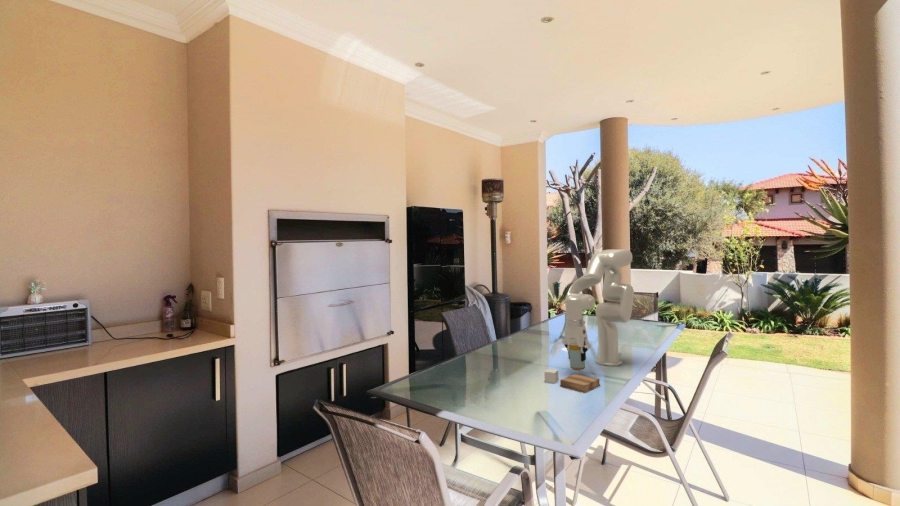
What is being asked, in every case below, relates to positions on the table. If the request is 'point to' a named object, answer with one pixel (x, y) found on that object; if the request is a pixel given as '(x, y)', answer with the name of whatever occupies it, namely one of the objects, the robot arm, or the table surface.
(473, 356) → the table surface
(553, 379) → the stone cube
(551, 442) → the table surface
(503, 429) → the table surface
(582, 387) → the plinth
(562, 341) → the robot arm
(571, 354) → the bottle
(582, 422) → the table surface
